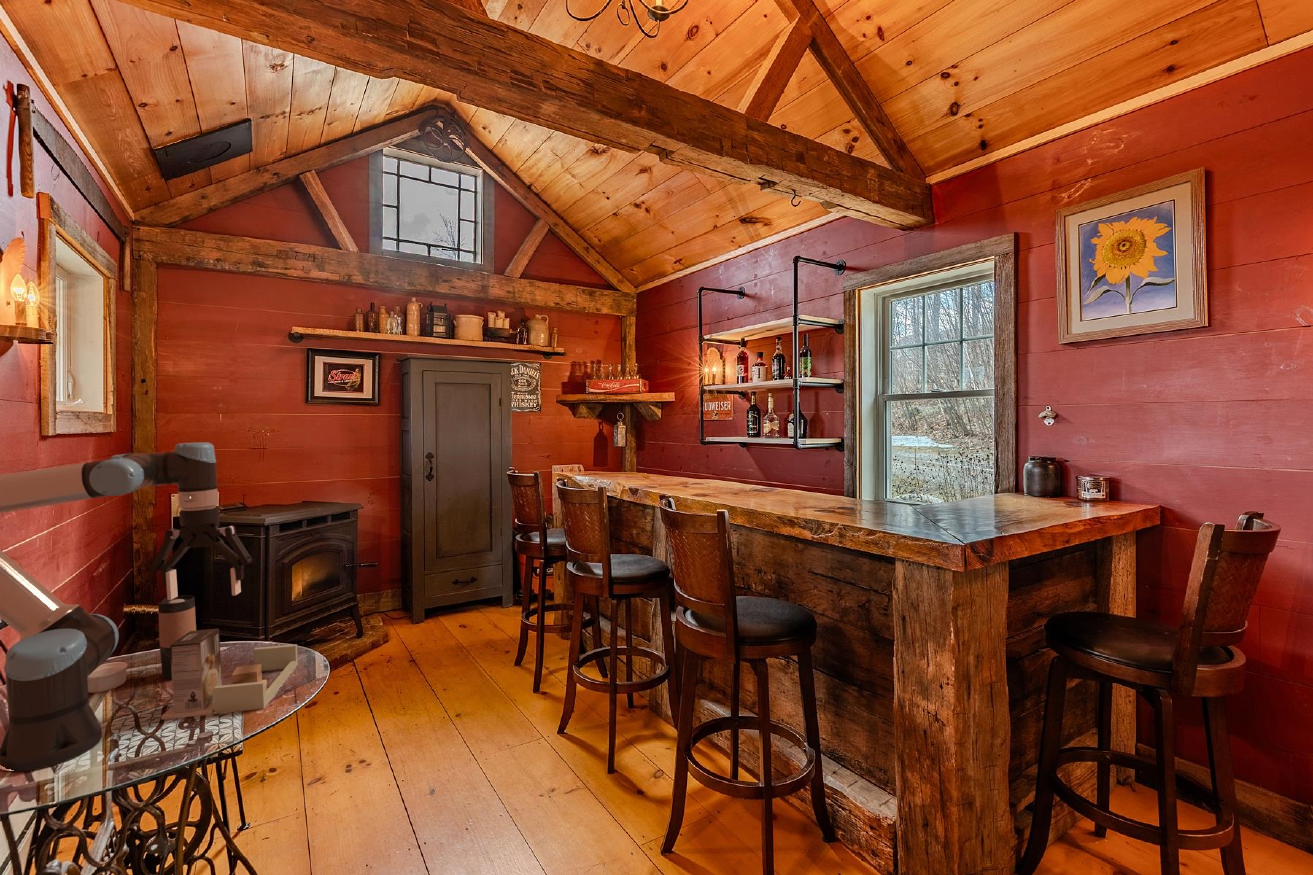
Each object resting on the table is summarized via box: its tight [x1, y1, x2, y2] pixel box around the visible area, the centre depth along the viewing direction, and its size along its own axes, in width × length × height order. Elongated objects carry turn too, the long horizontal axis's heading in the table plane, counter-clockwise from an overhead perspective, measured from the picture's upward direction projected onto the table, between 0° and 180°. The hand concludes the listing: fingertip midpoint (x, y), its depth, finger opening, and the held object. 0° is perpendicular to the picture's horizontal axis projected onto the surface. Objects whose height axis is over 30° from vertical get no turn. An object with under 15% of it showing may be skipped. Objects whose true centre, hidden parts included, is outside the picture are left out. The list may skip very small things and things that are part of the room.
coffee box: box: [170, 628, 223, 713], centre depth 144 cm, size 9×6×16 cm
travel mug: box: [157, 594, 197, 681], centre depth 161 cm, size 8×8×20 cm
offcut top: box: [231, 664, 263, 685], centre depth 146 cm, size 5×5×4 cm
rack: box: [214, 643, 299, 715], centre depth 153 cm, size 10×24×6 cm, turn 14°
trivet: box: [160, 701, 215, 720], centre depth 144 cm, size 10×10×1 cm
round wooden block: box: [88, 661, 128, 694], centre depth 155 cm, size 9×9×4 cm
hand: (204, 596), depth 146 cm, fingers open, 13 cm apart
